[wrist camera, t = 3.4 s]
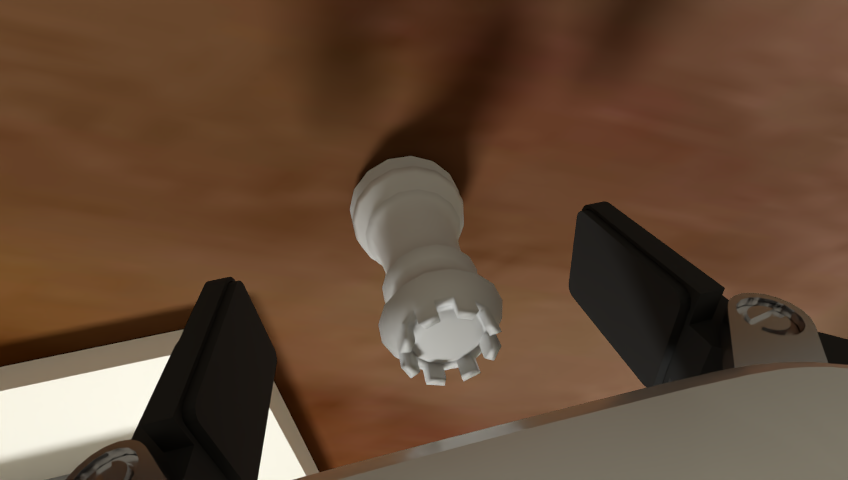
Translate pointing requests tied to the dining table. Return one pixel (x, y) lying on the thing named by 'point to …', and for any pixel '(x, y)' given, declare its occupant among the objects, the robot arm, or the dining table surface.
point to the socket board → (107, 411)
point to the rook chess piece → (425, 270)
